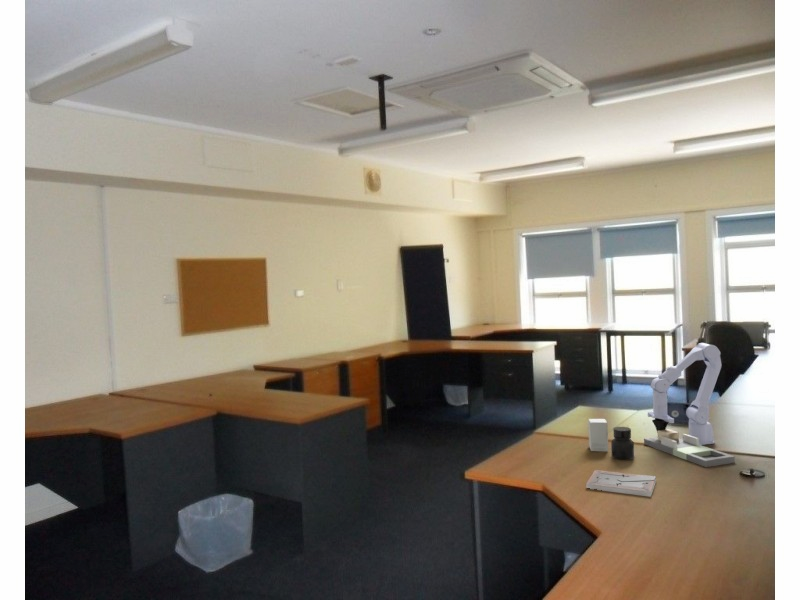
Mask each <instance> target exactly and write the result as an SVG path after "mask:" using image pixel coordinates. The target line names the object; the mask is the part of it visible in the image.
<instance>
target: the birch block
mask: <svg viewBox="0 0 800 600" xmlns="http://www.w3.org/2000/svg"><path fill="white" fill-rule="evenodd" d="M657 432H658V433H657ZM656 433H657V437H658V440H660V441H661V437H665V438H668V439H671V440H674V441H677V442H679V438H680V436H679V435H680V433H679V432H678V431H676V430H673V429H670V428H666V429H665V430H659V431H657V430H656Z"/></svg>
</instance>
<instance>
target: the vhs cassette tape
mask: <svg viewBox="0 0 800 600" xmlns="http://www.w3.org/2000/svg"><path fill="white" fill-rule="evenodd" d="M690 405H691V403H689V402H673V401H672V402H671V401H667V415H668V416H670V417H671V418H674V423H673V424H684V425H689V418H688V417H687V415H686V411H687V409H688V407H690Z"/></svg>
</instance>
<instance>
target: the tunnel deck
mask: <svg viewBox="0 0 800 600" xmlns="http://www.w3.org/2000/svg"><path fill="white" fill-rule="evenodd" d="M643 445H646V446H649V447H650V448H654V449H656V450H659V451H662V452H664V453H667V454H670V455H672V456H675V457H677V458H680V459H683V460H686V461H687V462H691V463H693V464H696V465H698V466H702V467H704V468H709V467H715V466H721V465H727V464H734V463H735V456H734V455H732V454H729V453H725V452H723V451H720V450H717V449H714V448H710V447H708V446H705V445H699V438H696V437H693V436H690V435H689V434H686V433H682V437H681V438H680V437H679V442H677V441H674V440H671V439H668V438H665V437H661V441H660V440H658V436H654V437H653V436H651V437H644V438H643Z"/></svg>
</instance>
